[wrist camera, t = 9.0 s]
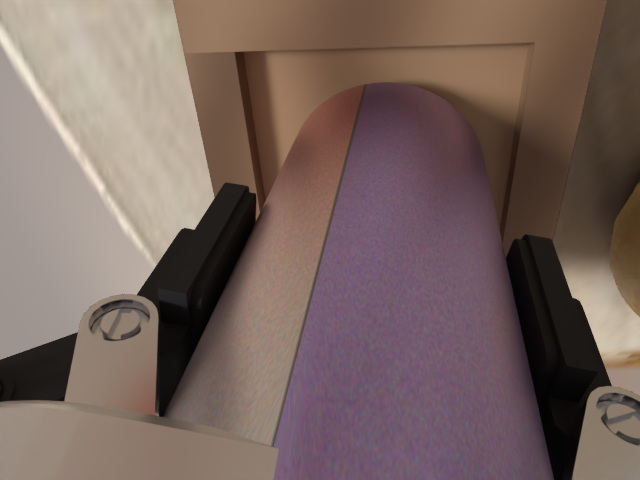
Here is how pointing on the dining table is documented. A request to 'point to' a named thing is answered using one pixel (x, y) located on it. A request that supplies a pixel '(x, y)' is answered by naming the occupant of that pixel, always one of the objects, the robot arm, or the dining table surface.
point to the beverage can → (374, 308)
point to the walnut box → (399, 67)
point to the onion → (627, 251)
